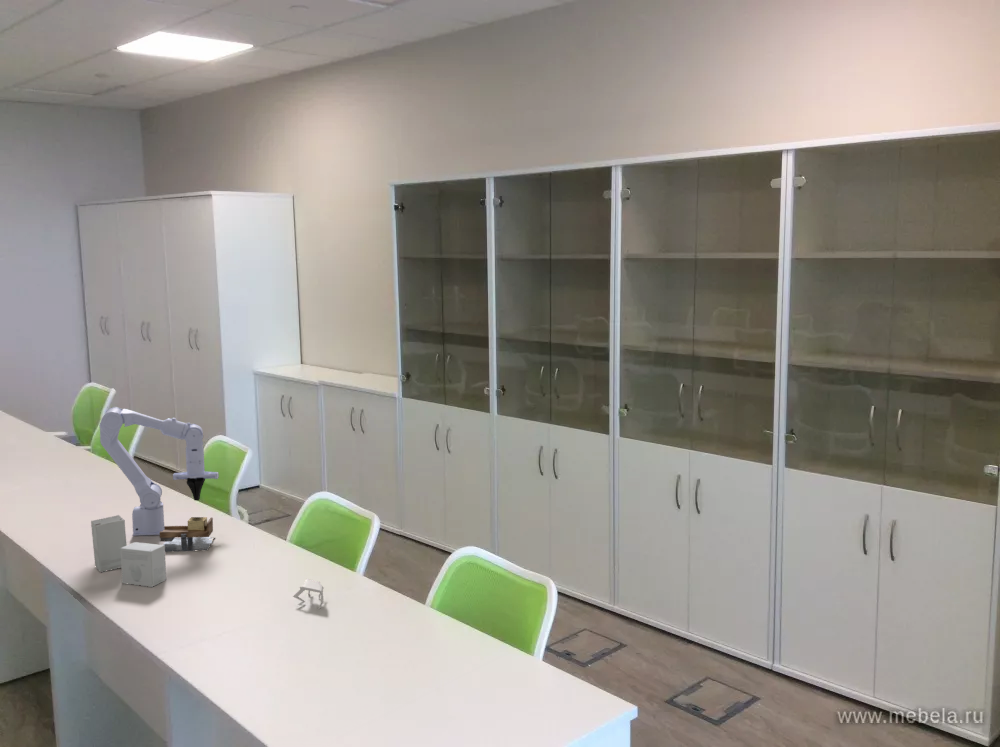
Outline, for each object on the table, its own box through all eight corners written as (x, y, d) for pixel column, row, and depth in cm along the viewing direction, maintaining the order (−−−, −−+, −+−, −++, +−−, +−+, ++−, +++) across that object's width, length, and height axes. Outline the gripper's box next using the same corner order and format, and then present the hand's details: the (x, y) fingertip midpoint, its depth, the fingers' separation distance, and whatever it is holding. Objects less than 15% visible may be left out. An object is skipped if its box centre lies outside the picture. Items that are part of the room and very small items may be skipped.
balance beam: (159, 542, 266) (159, 523, 265) (165, 535, 272) (164, 517, 271) (208, 541, 268) (208, 523, 267) (213, 535, 274) (212, 517, 273)
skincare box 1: (123, 561, 255) (120, 514, 253) (129, 567, 251) (126, 519, 249) (93, 567, 250) (90, 519, 248) (98, 573, 245) (95, 524, 243)
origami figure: (286, 602, 227) (286, 584, 226) (311, 592, 233) (311, 575, 232) (314, 614, 219) (314, 596, 218) (339, 604, 225) (339, 587, 225)
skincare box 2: (167, 579, 242) (165, 544, 240) (152, 587, 236) (150, 551, 234) (136, 575, 244) (134, 540, 243) (121, 583, 238) (119, 548, 237)
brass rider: (187, 533, 268) (187, 521, 267) (191, 529, 272) (191, 517, 271) (204, 533, 268) (203, 521, 267) (207, 529, 272) (207, 517, 271)
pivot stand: (157, 552, 263) (156, 537, 263) (168, 539, 275) (167, 525, 274) (207, 550, 265) (206, 535, 264) (215, 537, 277) (214, 523, 276)
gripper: (169, 463, 279) (171, 503, 280) (214, 463, 280) (216, 502, 282) (175, 458, 285) (177, 497, 287) (219, 457, 287) (220, 496, 289)
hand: (196, 499), depth 285 cm, fingers closed
